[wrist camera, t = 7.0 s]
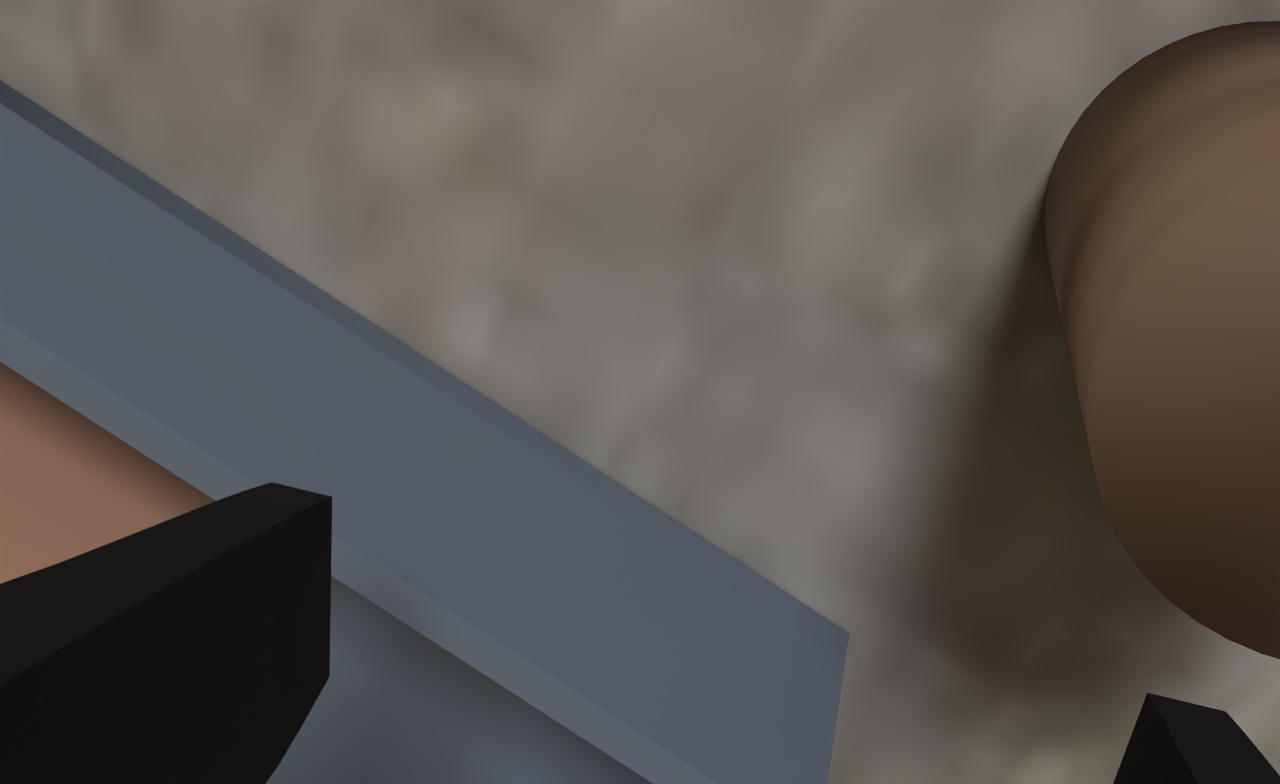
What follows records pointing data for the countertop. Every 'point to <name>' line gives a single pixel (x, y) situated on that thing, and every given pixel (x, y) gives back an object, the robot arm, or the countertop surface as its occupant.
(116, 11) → the countertop surface
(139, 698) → the robot arm
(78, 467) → the terracotta cube
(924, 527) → the countertop surface
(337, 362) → the slate tote
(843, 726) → the countertop surface
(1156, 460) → the walnut cylinder
